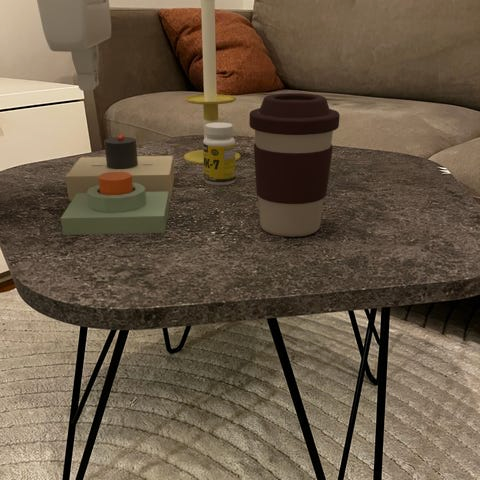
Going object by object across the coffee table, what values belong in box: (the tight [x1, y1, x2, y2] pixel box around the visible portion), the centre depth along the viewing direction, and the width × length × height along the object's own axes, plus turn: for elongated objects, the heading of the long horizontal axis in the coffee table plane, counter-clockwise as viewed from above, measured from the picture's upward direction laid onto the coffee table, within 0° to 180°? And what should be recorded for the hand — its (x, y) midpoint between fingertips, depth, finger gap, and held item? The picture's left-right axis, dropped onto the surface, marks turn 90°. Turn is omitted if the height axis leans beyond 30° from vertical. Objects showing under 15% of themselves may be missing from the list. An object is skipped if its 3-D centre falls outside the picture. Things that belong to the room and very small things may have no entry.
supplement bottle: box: [202, 122, 236, 186], centre depth 88 cm, size 5×5×8 cm
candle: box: [183, 0, 241, 165], centre depth 97 cm, size 10×10×27 cm
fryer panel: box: [65, 155, 175, 202], centre depth 86 cm, size 14×11×4 cm
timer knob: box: [103, 134, 138, 169], centre depth 84 cm, size 4×4×4 cm
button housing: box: [60, 183, 171, 236], centre depth 73 cm, size 12×10×4 cm
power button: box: [98, 172, 133, 195], centre depth 72 cm, size 4×4×2 cm
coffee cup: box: [248, 92, 341, 238], centre depth 68 cm, size 10×10×15 cm
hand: (89, 89), depth 67 cm, fingers closed
